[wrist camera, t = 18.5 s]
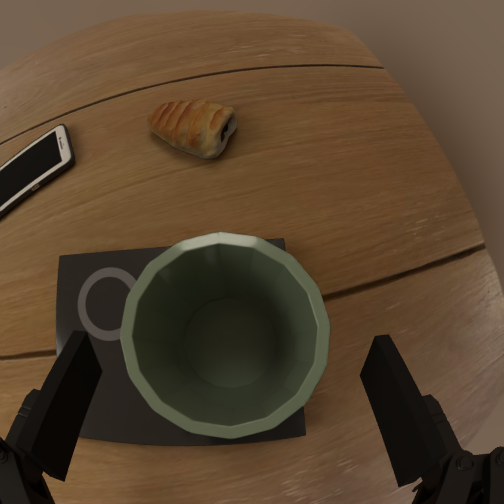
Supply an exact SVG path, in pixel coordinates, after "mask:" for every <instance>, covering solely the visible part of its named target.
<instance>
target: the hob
mask: <svg viewBox="0 0 504 504" xmlns="http://www.w3.org/2000/svg"><path fill="white" fill-rule="evenodd" d="M265 241H267V242H269V243H270V244H272V245H274V246H276V247H278V248H280V249H281V250H283V251H285V252H286V250H285V242H284V238H280V239H265ZM171 247H172V246H169V247H157V248H144V249H132V250H120V251H108V252H96V253H84V254H73V255H62V256H60V257H59V268H58V281H57V299H56V352H57V358H58V356H59V354H60V353H61V351H62V349H63V347H64V346H65V344H66V342H67V340H68V339H69V337H70V335H71V334H72V332H73V330H78V331H86V332H87V333H88V336H89V338H90V341H91V344H92V346H93V349H94V351H95V354H96V356H97V359H98V361H99V364H100V366H101V368H102V371H103V372H102V375H101V377H100V380H99V382H98V385H97V387H96V390H95V393H94V395H93V398H92V400H91V403H90V406H89V408H88V411H87V414H86V417H85V419H84V422H83V425H82V428H81V431H80V434H79V437H83V438H89V439H95V440H102V441H110V442H119V443H129V444H142V445H160V446H214V445H232V444H245V443H256V442H265V441H273V440H281V439H288V438H294V437H300V436H305V435H306V429H305V417H304V406H302V407H301V408H300V409H298V410H297V411H296V412H295V413H293V414H292V415H291V416H289V417H288V418H287V419H286V420H284V421H283V422H282V423H280V424H279V425H278V426H276V427H275V428H272V429H270V430H266V431H263V432H259V433H255V434H251V435H247V436H243V437H239V438H235V439H228V438H220V437H213V436H207V435H201V434H195V433H191V432H188V431H186V430H184V429H182V428H181V427H179V426H177V425H176V424H174V423H172V422H171V421H169V420H168V419H166V418H164V417H163V416H161V415H160V414H158V413H157V412H155V411H154V410H153V409H152V408H151V407H150V406H149V404H148V403H147V401H146V400H145V399H144V397H143V396H142V395H141V393H140V392H139V390H138V389H137V388H136V386H135V385H134V383H133V382H132V380H131V379H130V377H129V375H128V371H127V367H126V363H125V358H124V354H123V349H122V345H121V340H120V332H121V326H122V320H123V314H124V309H125V304H126V299H127V296H128V294H129V293H130V291H131V289H132V288H133V286H134V285H135V283H136V282H137V280H138V278H139V277H140V275H141V274H142V272H143V271H144V269H145V268H146V266H147V265H148V264H149V263H150V262H151V261H152V260H154V259H155V258H157V257H158V256H159V255H161V254H162V253H164V252H165V251H167V250H168V249H169V248H171Z"/></svg>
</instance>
